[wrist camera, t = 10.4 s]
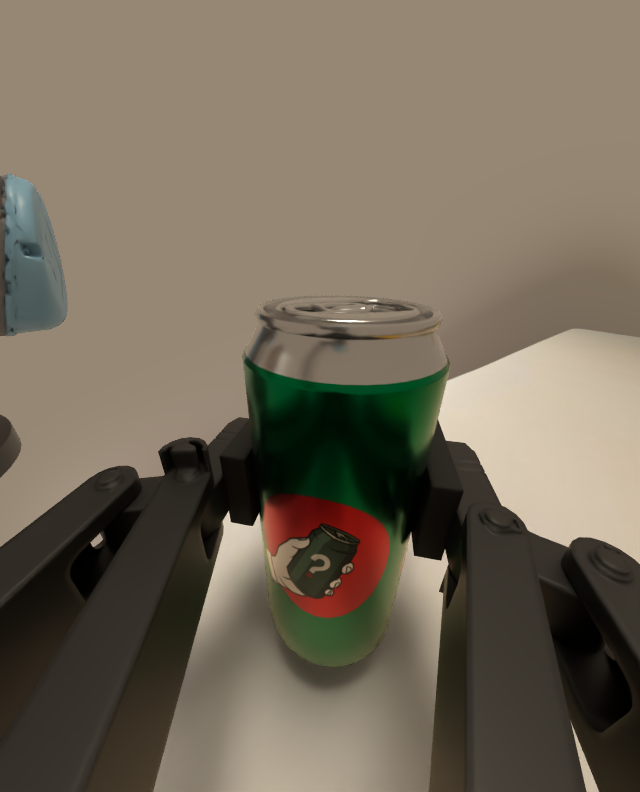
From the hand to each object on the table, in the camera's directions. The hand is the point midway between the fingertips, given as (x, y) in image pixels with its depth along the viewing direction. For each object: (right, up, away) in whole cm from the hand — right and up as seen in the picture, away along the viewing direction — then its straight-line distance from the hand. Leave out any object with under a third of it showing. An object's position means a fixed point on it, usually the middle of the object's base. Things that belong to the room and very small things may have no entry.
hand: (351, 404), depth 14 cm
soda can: (-1, -8, -2) cm, 9 cm away
